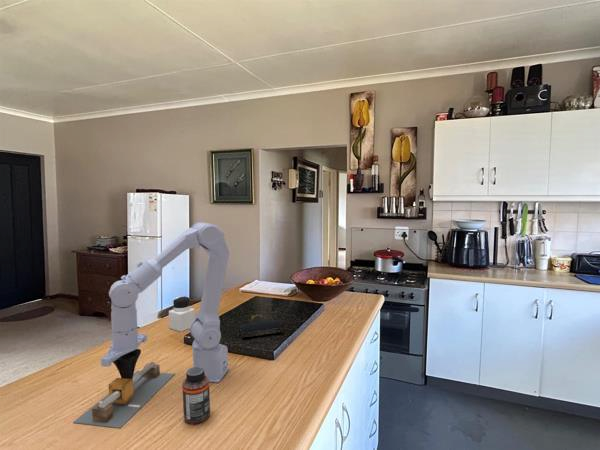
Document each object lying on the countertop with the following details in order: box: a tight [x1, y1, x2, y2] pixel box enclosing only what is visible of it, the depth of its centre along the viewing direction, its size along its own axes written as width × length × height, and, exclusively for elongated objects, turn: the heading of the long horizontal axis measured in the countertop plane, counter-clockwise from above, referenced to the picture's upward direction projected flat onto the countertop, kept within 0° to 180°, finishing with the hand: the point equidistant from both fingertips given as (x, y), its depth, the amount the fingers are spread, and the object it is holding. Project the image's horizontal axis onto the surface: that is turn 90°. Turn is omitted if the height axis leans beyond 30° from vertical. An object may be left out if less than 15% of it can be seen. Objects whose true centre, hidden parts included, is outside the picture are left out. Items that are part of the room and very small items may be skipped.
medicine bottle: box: [168, 295, 196, 333], centre depth 132 cm, size 7×7×12 cm
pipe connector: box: [239, 314, 283, 332], centre depth 128 cm, size 12×5×15 cm
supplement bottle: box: [182, 366, 211, 425], centre depth 78 cm, size 6×6×11 cm
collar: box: [108, 377, 134, 404], centre depth 83 cm, size 4×3×5 cm
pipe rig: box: [72, 361, 176, 429], centre depth 86 cm, size 12×23×4 cm, turn 171°
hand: (127, 379), depth 85 cm, fingers closed
